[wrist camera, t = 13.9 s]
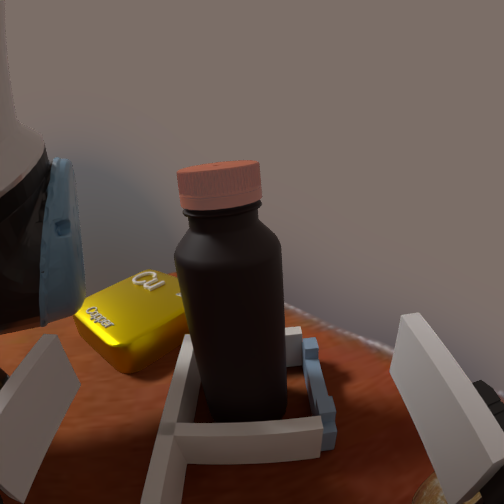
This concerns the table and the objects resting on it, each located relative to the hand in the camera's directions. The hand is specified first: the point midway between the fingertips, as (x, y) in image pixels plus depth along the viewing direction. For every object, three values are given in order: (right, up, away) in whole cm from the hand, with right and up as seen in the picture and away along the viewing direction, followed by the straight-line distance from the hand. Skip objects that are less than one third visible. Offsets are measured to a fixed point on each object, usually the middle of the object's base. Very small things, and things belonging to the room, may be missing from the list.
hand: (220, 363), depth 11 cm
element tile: (-13, -6, +29) cm, 32 cm away
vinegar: (+1, -10, +15) cm, 18 cm away
